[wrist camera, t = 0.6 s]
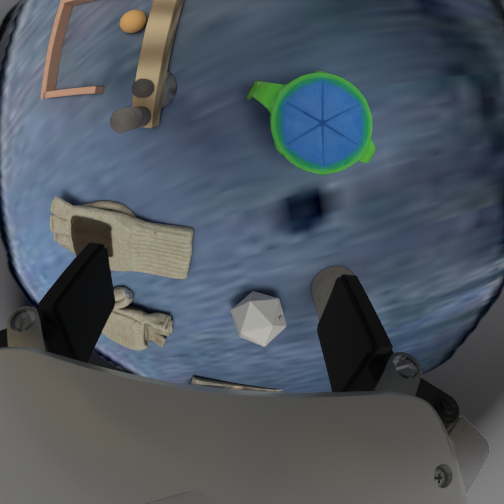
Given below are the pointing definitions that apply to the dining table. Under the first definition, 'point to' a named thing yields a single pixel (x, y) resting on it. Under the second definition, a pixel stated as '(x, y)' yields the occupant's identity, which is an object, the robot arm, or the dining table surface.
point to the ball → (133, 21)
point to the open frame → (55, 52)
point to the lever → (151, 69)
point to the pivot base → (169, 90)
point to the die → (259, 318)
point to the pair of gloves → (126, 260)
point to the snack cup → (318, 121)
